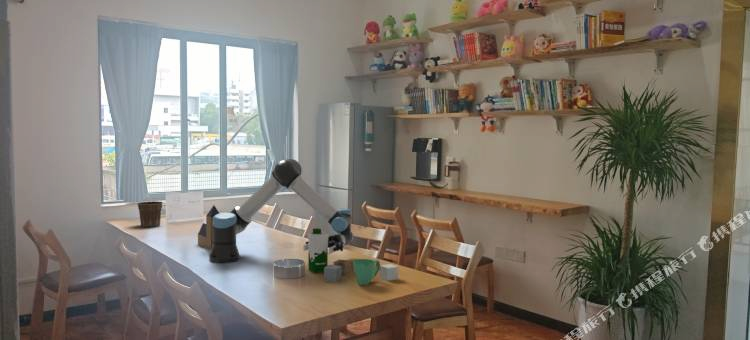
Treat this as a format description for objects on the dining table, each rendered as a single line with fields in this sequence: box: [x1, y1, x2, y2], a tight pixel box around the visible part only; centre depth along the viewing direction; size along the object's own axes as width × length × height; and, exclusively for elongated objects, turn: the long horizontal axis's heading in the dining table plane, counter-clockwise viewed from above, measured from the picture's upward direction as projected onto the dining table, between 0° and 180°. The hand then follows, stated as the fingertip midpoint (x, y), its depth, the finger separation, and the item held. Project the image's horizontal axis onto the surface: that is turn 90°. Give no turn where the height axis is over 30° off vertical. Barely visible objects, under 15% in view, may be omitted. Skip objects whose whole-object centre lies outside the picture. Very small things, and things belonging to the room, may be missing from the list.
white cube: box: [379, 263, 399, 282], centre depth 248 cm, size 6×6×6 cm
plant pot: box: [137, 200, 164, 228], centre depth 369 cm, size 16×16×16 cm
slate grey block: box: [323, 264, 343, 283], centre depth 245 cm, size 6×6×6 cm
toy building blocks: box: [197, 204, 221, 251], centre depth 309 cm, size 12×19×25 cm
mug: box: [352, 258, 381, 286], centre depth 241 cm, size 15×10×10 cm
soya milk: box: [307, 228, 330, 274], centre depth 259 cm, size 9×9×20 cm
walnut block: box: [332, 259, 351, 277], centre depth 255 cm, size 6×6×6 cm
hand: (316, 249), depth 257 cm, fingers open, 13 cm apart
